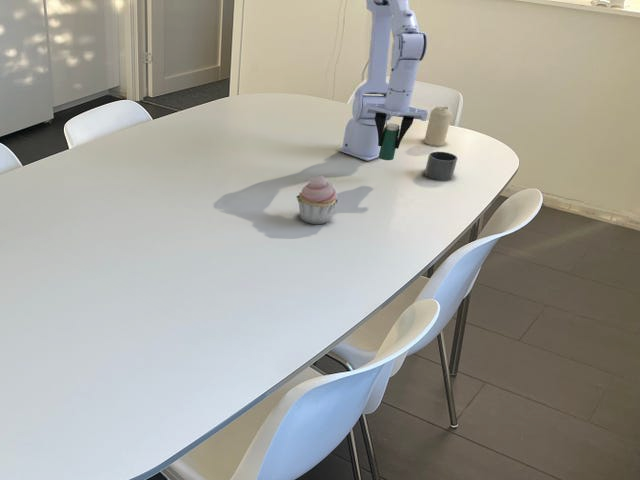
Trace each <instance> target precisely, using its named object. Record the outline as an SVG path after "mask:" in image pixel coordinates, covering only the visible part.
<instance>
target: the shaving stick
mask: <svg viewBox="0 0 640 480" xmlns="http://www.w3.org/2000/svg"><path fill="white" fill-rule="evenodd" d="M400 128H401V125H399V124H398V123H393V122H387V124H385V127H384V132H383V137H382V143H381V146H380V149H379V151H380V152H379V157H378V158H379V159H380V160H383V161H392V160H394V159H395V153H396V149H397V148H396V143H397V140H398V137H399V133H400Z"/></svg>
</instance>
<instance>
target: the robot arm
mask: <svg viewBox="0 0 640 480" xmlns="http://www.w3.org/2000/svg"><path fill="white" fill-rule="evenodd" d="M365 2H366V3H365V4H366V9H367V10H368V11H369V12H371V31H370V43H369V55H368V66H367V76H366V82H365V83H363V84H362V85H360V86H359V87H358V88H357V89H356V90H355V93H354V98H353V102H352V109H351V113H352V117H351V118H350V119H349V120H348V121H347V123H346V126H345V130H344V135H343V141H342V146H341V148H340V149H339V151H340V152H341V153H345V154H346V155H349V156H353V157H354V158H358V159H361V160H363V161H367V162H369V161H371V160H375V159H378V158H379V152H380V147H381V143H382V137H383V132H384V128H385V127H386V124H388V122H389V121H391V120H392V118H393V117H398V118H402V120H401V124H400V127H399V129H400V131H399V136H398V140H397V143H396V149H399V148H400V145H401V142H402V140H403V138H404V137H405V135H406V133H407V132H408V130H409V129H410V128H411V126H412V125H413V123H414V120H420V121H421V122H426V121H427V119H428V115H429V110H427V109H420V108H416V107H411V106H410V105H411V100H412V96H413V92H414V87H415V82H416V78H417V74H418V68H419V64H420V62H422V61H423V60H424V58H425V55H426V52H427V47H428V38H427V34H426V32H424V31H422V30H420V29H419V24H418V20H417V16H416V13H415V12H414V11H413V10H412V9H410V0H366V1H365ZM391 35H392V39H393V41H392V45H391V58H390V67H391V68H390V75H389V78H388V82H387V76H388V75H387V73H388V65H389V64H388V63H389V53H390V41H391Z"/></svg>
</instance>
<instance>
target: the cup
mask: <svg viewBox="0 0 640 480" xmlns="http://www.w3.org/2000/svg"><path fill="white" fill-rule="evenodd" d="M457 163H458V157H457V155H456V154H453V153H451V152H445V151H431V152H429V154H428V157H427V161H426V165H425V169H424V176H426V177H427V178H429V179H432V180H434V181H435V180H436V181H449V180H450V181H451V180H452V179H453V177H454V173H455V170H456V166H457Z"/></svg>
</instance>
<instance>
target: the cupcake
mask: <svg viewBox="0 0 640 480" xmlns="http://www.w3.org/2000/svg"><path fill="white" fill-rule="evenodd" d="M295 197H296V200H297V202H298V208H299V216H300V219H301V220H302V221H303V222H305V223H307V224H312V225H323V224H326V223H328V222H329V220H330V218H331V216H332V214H333V211H334V210H335V208H336V206H337V205H338V204H339V203H340V200H339V199H337V198H338V196H337V191H336V190H335V187H334V185H333V184H332V183H331V182H328V181H326V179H325V177H324V176H323V175H319V176H316V177H314V178H312V179H311V180H310V181H309V182H308V183H307V184H305V186H304V187H302V189H301V192H299V193H298V195H296V196H295Z"/></svg>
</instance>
